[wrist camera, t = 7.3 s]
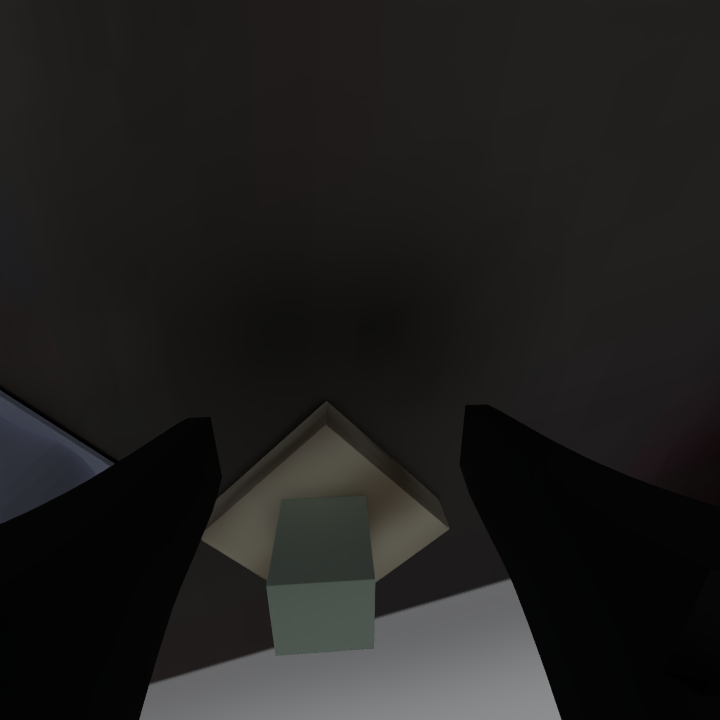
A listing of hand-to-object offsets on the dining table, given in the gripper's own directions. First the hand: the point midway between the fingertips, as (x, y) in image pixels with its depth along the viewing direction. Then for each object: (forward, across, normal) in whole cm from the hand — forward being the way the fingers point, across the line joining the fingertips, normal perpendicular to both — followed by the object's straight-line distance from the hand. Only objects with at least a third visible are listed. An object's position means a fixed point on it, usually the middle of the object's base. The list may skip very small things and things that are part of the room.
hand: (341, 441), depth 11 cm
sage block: (+7, +1, +10) cm, 13 cm away
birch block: (+10, +1, +11) cm, 15 cm away
